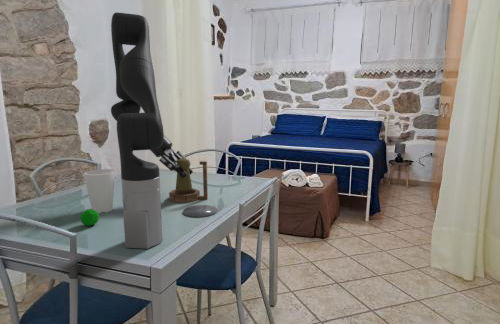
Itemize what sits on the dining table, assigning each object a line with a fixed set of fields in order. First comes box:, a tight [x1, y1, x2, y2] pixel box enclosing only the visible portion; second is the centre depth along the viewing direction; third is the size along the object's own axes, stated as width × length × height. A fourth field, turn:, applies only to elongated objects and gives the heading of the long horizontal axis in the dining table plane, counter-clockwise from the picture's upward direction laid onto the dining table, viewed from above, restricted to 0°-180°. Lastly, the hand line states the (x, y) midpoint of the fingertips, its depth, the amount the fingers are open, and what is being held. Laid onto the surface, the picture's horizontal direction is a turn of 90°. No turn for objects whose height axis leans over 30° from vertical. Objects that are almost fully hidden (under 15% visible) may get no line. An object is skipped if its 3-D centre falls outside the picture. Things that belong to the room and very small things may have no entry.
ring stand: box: [168, 160, 209, 203], centre depth 133 cm, size 10×14×14 cm
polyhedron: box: [79, 208, 100, 227], centre depth 106 cm, size 5×5×5 cm
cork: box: [175, 158, 193, 191], centre depth 132 cm, size 6×6×11 cm
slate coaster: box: [183, 204, 218, 218], centre depth 118 cm, size 11×11×1 cm
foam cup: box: [83, 168, 116, 214], centre depth 120 cm, size 10×9×13 cm
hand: (188, 174), depth 132 cm, fingers closed on cork, 5 cm apart
